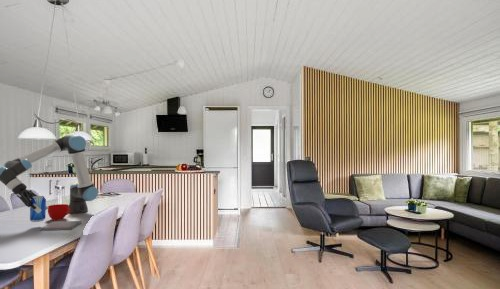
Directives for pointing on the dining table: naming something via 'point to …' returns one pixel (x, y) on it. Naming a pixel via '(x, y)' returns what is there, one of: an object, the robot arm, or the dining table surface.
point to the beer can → (41, 203)
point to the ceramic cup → (58, 211)
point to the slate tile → (61, 225)
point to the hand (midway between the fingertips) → (43, 210)
